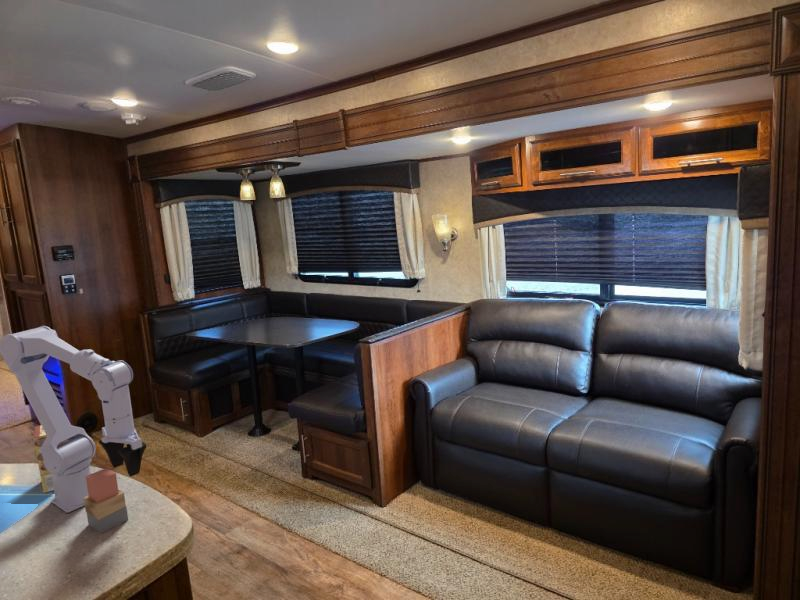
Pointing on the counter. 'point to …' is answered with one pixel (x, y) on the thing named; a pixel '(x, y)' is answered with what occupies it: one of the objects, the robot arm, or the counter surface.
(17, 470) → the counter surface
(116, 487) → the red block
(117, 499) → the tower middle
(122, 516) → the tower base
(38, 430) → the candy box
